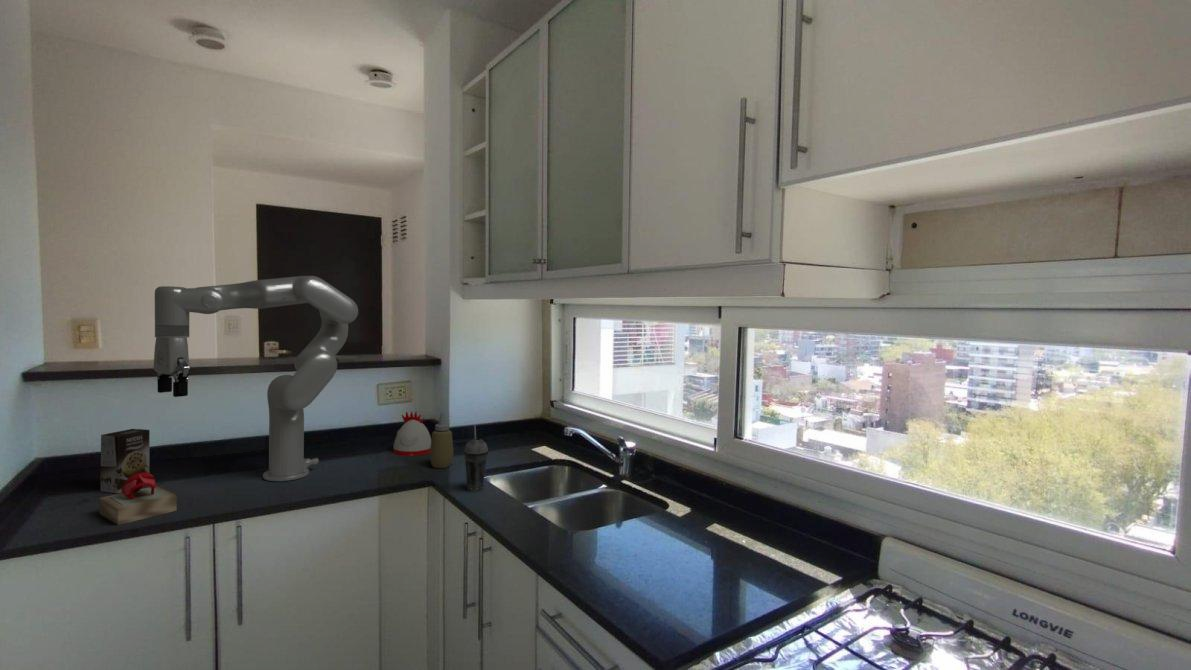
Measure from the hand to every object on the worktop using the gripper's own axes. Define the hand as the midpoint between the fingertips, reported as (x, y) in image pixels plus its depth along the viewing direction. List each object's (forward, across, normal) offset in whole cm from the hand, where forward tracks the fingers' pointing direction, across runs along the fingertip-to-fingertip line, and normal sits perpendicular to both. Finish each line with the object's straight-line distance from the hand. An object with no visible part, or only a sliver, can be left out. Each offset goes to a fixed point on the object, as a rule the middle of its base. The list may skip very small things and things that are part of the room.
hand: (172, 394), depth 152 cm
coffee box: (+28, -17, -5) cm, 34 cm away
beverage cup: (+28, +61, +55) cm, 87 cm away
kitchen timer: (+29, +12, +72) cm, 78 cm away
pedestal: (+28, +7, -10) cm, 31 cm away
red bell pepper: (+24, +7, -10) cm, 27 cm away
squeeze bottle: (+28, +35, +65) cm, 79 cm away
